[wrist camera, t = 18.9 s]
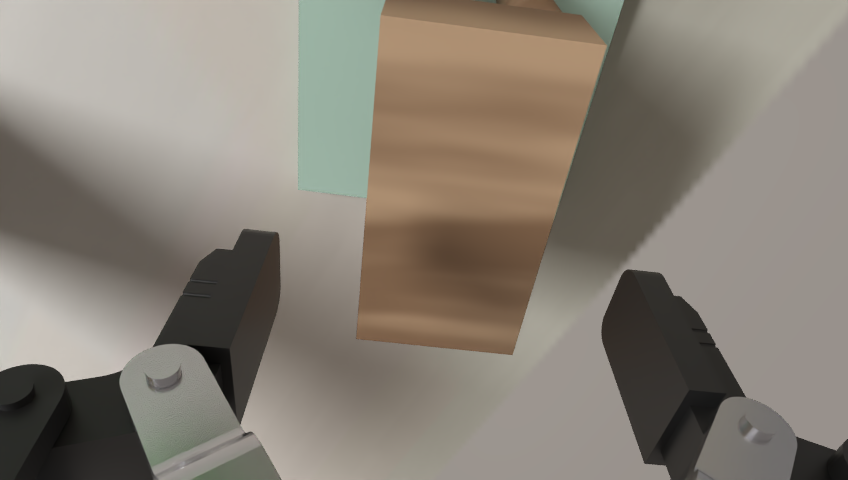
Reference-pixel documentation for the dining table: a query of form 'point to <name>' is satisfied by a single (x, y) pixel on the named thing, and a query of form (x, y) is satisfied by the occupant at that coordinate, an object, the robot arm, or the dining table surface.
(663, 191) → the dining table surface
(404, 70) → the stool
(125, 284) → the dining table surface
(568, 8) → the mat
